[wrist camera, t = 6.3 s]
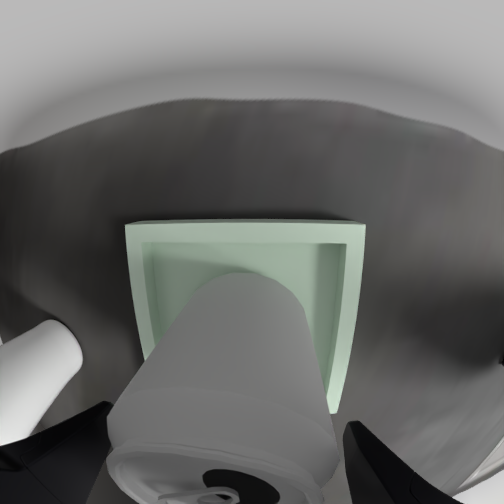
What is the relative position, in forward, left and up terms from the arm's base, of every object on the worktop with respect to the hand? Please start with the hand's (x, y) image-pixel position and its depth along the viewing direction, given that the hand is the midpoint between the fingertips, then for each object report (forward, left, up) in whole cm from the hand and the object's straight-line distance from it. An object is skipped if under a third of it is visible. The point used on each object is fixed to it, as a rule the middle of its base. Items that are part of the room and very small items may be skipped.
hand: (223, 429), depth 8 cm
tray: (0, 0, -9) cm, 9 cm away
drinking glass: (+17, +4, -9) cm, 19 cm away
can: (0, 0, -9) cm, 9 cm away
